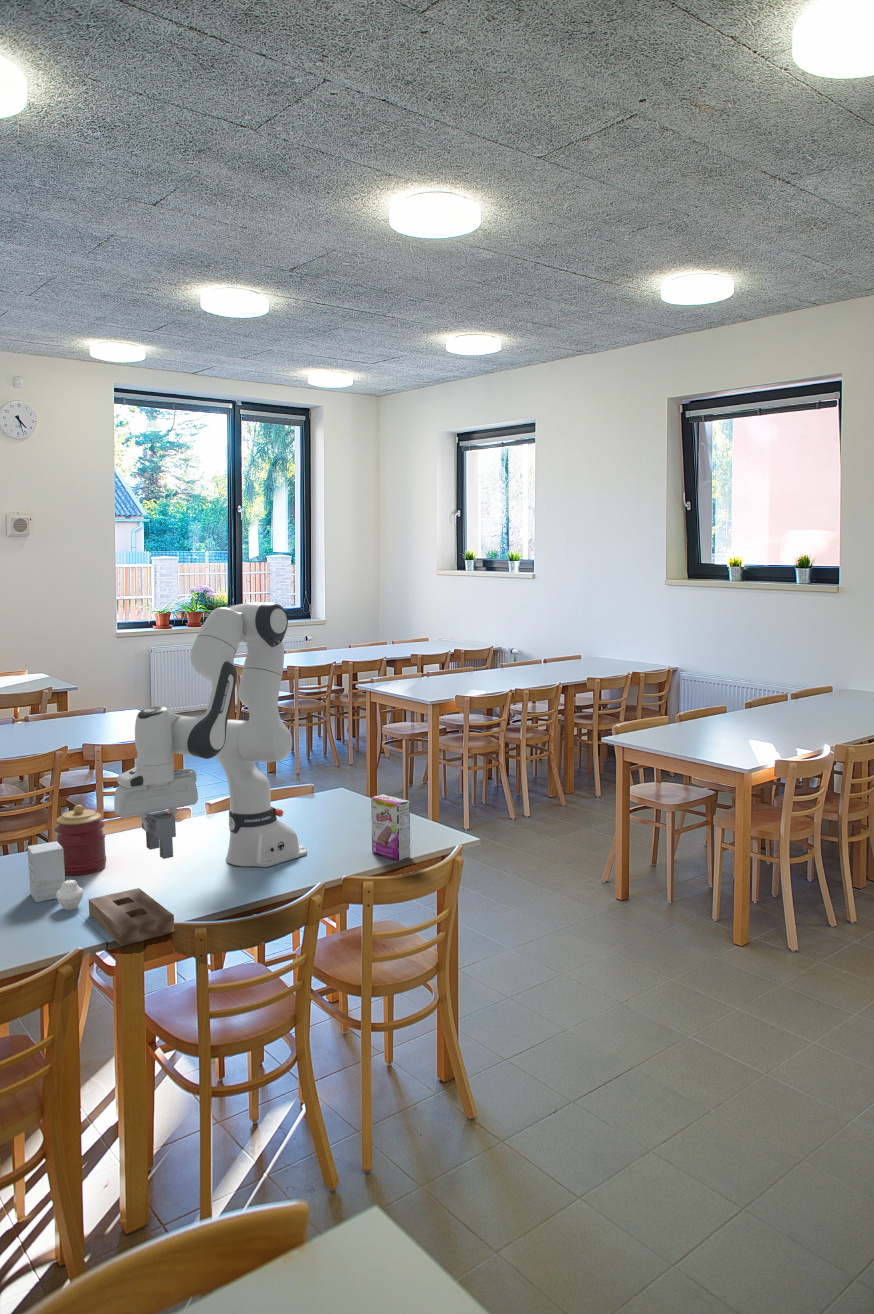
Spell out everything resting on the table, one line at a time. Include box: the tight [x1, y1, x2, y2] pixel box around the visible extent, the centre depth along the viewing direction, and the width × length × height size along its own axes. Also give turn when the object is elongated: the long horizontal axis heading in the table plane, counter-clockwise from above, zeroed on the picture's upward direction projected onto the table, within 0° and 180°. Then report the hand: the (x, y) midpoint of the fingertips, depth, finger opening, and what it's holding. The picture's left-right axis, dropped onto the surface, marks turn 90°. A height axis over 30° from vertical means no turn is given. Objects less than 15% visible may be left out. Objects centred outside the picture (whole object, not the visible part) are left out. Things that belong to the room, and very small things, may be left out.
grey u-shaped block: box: [141, 810, 177, 860], centre depth 229 cm, size 4×12×10 cm, turn 38°
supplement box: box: [26, 841, 66, 903], centre depth 231 cm, size 7×7×13 cm
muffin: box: [56, 879, 84, 911], centre depth 223 cm, size 6×6×7 cm
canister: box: [53, 804, 107, 876], centre depth 251 cm, size 13×13×18 cm
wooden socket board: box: [88, 887, 175, 947], centre depth 213 cm, size 12×22×4 cm, turn 38°
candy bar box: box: [370, 793, 411, 862], centre depth 260 cm, size 11×5×16 cm, turn 47°
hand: (158, 828), depth 229 cm, fingers closed on grey u-shaped block, 4 cm apart
